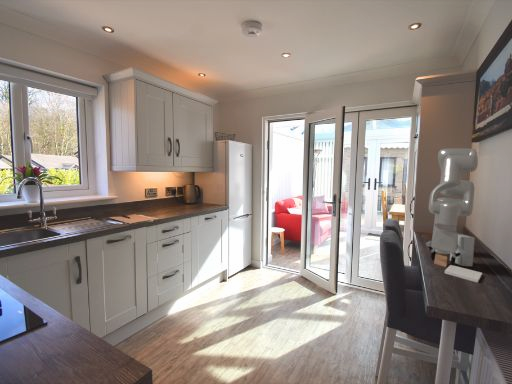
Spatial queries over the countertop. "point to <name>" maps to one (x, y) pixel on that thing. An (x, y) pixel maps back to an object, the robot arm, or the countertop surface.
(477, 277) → the chopping board
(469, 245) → the skincare box
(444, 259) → the wooden cube
